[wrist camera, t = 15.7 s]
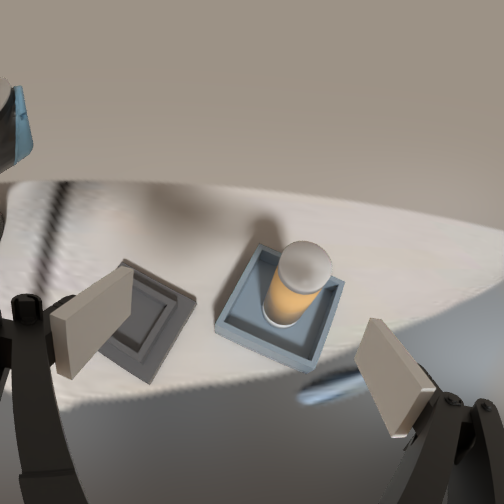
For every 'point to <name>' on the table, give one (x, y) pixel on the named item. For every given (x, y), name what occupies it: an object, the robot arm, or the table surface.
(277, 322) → the ball
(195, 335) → the table surface
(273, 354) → the parts tray
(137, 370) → the block
